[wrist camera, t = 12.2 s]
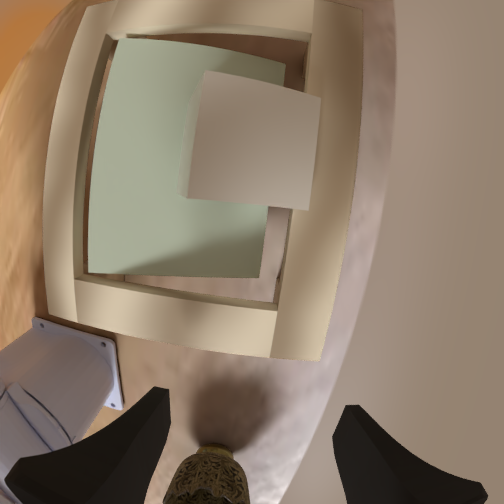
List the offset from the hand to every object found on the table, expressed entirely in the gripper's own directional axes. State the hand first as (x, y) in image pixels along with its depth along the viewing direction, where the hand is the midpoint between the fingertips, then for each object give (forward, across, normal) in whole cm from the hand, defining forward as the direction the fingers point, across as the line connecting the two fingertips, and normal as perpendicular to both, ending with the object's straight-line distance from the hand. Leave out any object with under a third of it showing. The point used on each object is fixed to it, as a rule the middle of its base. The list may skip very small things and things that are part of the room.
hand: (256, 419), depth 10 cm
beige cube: (+6, +3, -10) cm, 12 cm away
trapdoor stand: (+10, +4, -10) cm, 15 cm away
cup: (+11, +2, +16) cm, 19 cm away
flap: (+8, +6, -10) cm, 14 cm away
